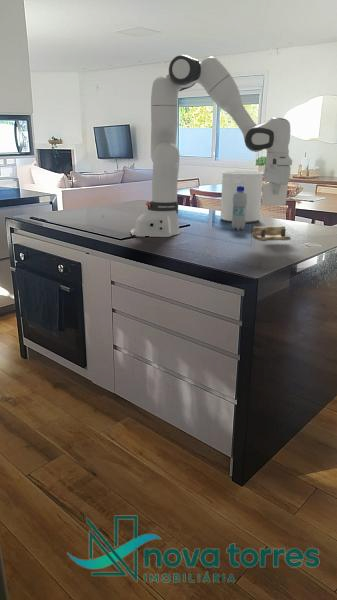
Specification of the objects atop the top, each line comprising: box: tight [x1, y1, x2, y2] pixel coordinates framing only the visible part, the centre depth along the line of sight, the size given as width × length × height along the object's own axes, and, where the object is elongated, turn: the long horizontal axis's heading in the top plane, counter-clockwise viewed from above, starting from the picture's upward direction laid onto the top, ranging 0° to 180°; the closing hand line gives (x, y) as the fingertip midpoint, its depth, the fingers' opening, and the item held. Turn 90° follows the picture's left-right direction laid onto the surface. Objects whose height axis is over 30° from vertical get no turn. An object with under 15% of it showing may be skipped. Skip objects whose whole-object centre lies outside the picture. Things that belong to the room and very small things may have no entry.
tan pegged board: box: [251, 225, 291, 241], centre depth 195 cm, size 14×10×4 cm
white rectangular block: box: [260, 182, 289, 207], centre depth 189 cm, size 10×2×9 cm, turn 98°
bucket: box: [220, 170, 264, 224], centre depth 231 cm, size 26×22×24 cm
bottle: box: [231, 186, 247, 231], centre depth 208 cm, size 7×7×20 cm
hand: (274, 193), depth 189 cm, fingers closed on white rectangular block, 2 cm apart
